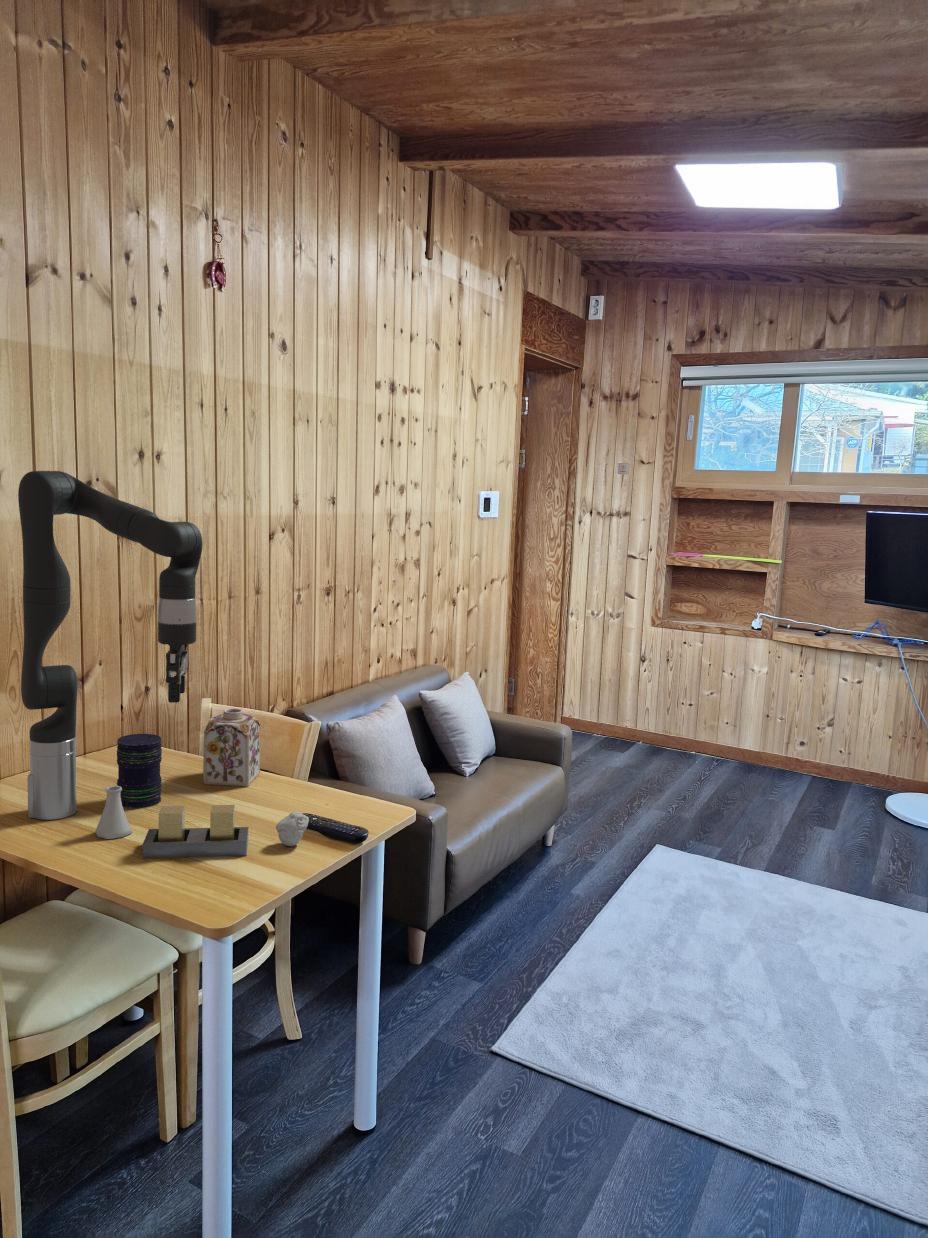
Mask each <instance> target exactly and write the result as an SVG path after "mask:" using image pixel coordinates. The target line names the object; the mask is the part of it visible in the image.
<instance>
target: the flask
mask: <svg viewBox="0 0 928 1238" xmlns="http://www.w3.org/2000/svg"><path fill="white" fill-rule="evenodd" d="M104 791H105V792H106V799H105V804H104V805H105V806H104V807H103V810H102V814H101V816H100V819H99V821H98V823H97V826H96V828H95V831H94V833H95V835H96V837H98V838H100V839H101V838H102V839H104V840H105V839H106V840H112V839H113V840H114V839H118V838H123V837H126V836H128V835H131V834H133V830H132V828H131V827H132V826H131V825H130V823H129V820H128V818H127V816H126V812H125V810H124V807H122V803H121V797H120V792H121V791H122V788H121V786H117V785H111V786H108V787H105V790H104Z"/></svg>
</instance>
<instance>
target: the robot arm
mask: <svg viewBox="0 0 928 1238" xmlns="http://www.w3.org/2000/svg"><path fill="white" fill-rule="evenodd" d="M17 497H18V499H17V500H18V510H19V518H20V528H21V536H22V537H21V538H22V561H23V562H22V565H23V569H22V572H23V573H22V575H23V576H22V610H23V611H22V613H23V615H22V616H23V647H22V649H23V650H22V661H21V662H22V663H21V675H20V677H21V679H20V692H21V694H20V695H21V700H22V704H23V705H24V708H25V709H27V710H31V711H32V710H34V711H35V710H46V709H55V708H56V710H55V711H54V712H52V714H51V715H49V716H48V717H46V718H44V719H42V720H40V721H38V722H35V723H34V724H32V725H31V726H30V728H29V765H30V766H29V770H30V771H29V773H28V774H27V777H26V778H27V779H26V781H27V818H30V819H32V818H34V819H37V820H46V821H47V820H50V821H51V820H61V819H64V818H67V817H70V816H73V815H75V813H76V812H77V750H76V749H77V747H76V746H77V739H76V738H77V737H76V736H77V734H76V733H77V732H76V731H77V730H76V729H77V728H76V727H77V704H78V702H77V701H78V676H77V672H76V670H75V669H74V667H73V666H72V665H69V664H61V665H60V664H57V665H45V666H44V665H43V666H41V665H42V660H43V656H44V654H45V650H46V648H47V645H48V643H49V642H50V640H51V639H52V637H53V635H54V634H55V633H56V631H58V629H59V627H60V626H61V624H62V623H63V621H64V620H65V618H66V617H67V615H68V613H69V610H70V608H71V576H70V573H69V570H68V567H67V566H66V564H65V561H64V560H63V558H62V556H61V554H60V552H59V550H58V548H57V546H56V542H55V539H54V538H55V537H54V517H55V516H58V515H64V514H70V515H75V516H80V517H84V518H88V519H90V520H93V521H95V522H97V523H98V524H100V526H101V527H103V528H104V529H105V530H106V531H107V532H109V533H112V534H114V535H115V536H116V535H117V536H119V537H121V538H122V539H123V538H124V539H125V540H128V541H132V542H134V543H138V544H140V545H141V546H143V547H144V548H146V549H147V550H149V551H150V552H152V553H154V554H157V555H159V556H161V557H166V558H170V561H169V565H168V566H167V567H166V568H164V569H163V570H162V571H161V572H160V573H159V578H158V589H159V590H158V592H159V593H158V598H159V599H158V605H157V642H158V643H159V644H161V645H168V646H169V648H168V650H167V652H166V653H165V662H166V663H165V683H166V684H167V689H168V692H167V694H168V695H167V696H168V697H167V698H168V699H167V701H168V703H176V704H177V703H179V702H180V700H181V694H184V693H185V692H186V675H187V671H188V664H189V663H188V657H189V651H188V645H193V644H194V643H196V642H197V603H196V576H197V573H198V569H199V564H200V562H201V558H202V554H203V553H202V551H203V537H202V534H201V531H200V529H199V527H198V526H196V525H195V524H194V523H192V522H190V521H167V520H164V519H161V518H159V516H158V515H157V514H156V513H154V512H152V511H151V510H149V509H146V508H142V507H140V506H138V505H135V504H133V503H129V502H127V501H123V500H120V499H118V498H116V497H112V496H111V495H108V494H106V493H104V492H101V491H100V490H97V489H95V488H94V487H91V486H90V485H88V484H86V483H85V482H83V481H82V480H80V479H78V478H76V477H75V476H72V475H71V474H69V473H67V472H64V471H61V470H32V471H29V472H27V473H25V474H24V475H23V476H22V478H21V480H20V481H19V485H18V494H17ZM172 675H173V676H172Z"/></svg>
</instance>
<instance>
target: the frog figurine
mask: <svg viewBox="0 0 928 1238" xmlns="http://www.w3.org/2000/svg"><path fill="white" fill-rule="evenodd" d="M309 820H310V819H309V816H307V815H305V814H303V813H302V812H300V811H293V812H291V813H289V814H288V815H286V816H285V817H284V818H282V819H281V820H280V821H278V823H277V824H276V825H275V829H276V832H277V833H278V839H279V840H280V843H282V844H283V845H284V846H287V847H294V846H296V845H297V844H299V843H300V841H301V840H302V838H303V836H304V832H306V831H307V828H308V825H309Z"/></svg>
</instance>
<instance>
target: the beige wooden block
mask: <svg viewBox="0 0 928 1238" xmlns="http://www.w3.org/2000/svg"><path fill="white" fill-rule="evenodd" d="M235 806H236V805H235V804H212V805H211V809H210V812H209V813H210V815H209V817H210V820H209V822H210V824H209V825H210V826H209V828H210V841H225V840H234V827H235V821H236V820H235V817H236V816H235V815H236V813H235V811H236V810H235V808H236V807H235Z"/></svg>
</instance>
